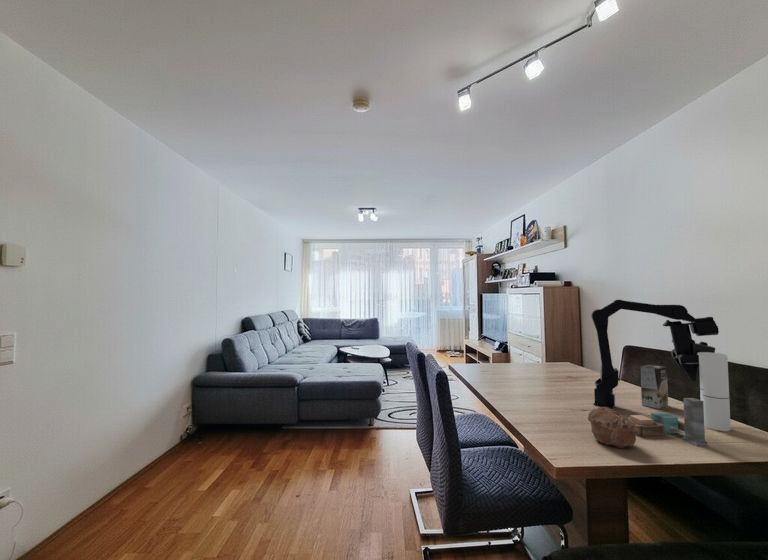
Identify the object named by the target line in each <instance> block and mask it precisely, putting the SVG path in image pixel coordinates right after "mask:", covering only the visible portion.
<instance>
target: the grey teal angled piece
mask: <svg viewBox="0 0 768 560" xmlns="http://www.w3.org/2000/svg"><path fill="white" fill-rule="evenodd" d="M683 416H684V417H683V419H684V420H683V423H684V424H685V431H682V430H680V429H678V421H679V416H678V417H677V416H675V415H673V414H670V413H667V412H664V411H663V412H660V411H659V412H658V411H657V412H650V419H653V421H655V422H658V423H660V424H663V425H665V434H680V435H682V441H684V442H686V443H688V442H689V443H688V444H691V445H693V444H694V445H693V446H695V445H701V446H708V445H709V442H708V441H706V433H705V432H706V431H705V427H704V407H703V401H701V399H698V398H694V397H683Z"/></svg>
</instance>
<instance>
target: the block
mask: <svg viewBox="0 0 768 560" xmlns="http://www.w3.org/2000/svg"><path fill="white" fill-rule="evenodd" d="M629 419H630V420H631V421H632V422H633V423H635V424H637V425H654V422H653V419H651V417H648V416H645V415H642V414H632V415H629Z"/></svg>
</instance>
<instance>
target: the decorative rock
mask: <svg viewBox="0 0 768 560" xmlns="http://www.w3.org/2000/svg"><path fill="white" fill-rule="evenodd" d="M587 416H588V417H587V420H588V421H589V423H590V425H591V429H590V430H591V433H592V434H593V437H594V439H595V440H597V441H599V442H600V444H605V445H609V446H613V447H615V448H618V449H623V448H629V447H633V446H634V445H635V443H636V441H637V436H636V435H637V433H638V432H639V430H638V428H637V427H636V425H635V423H633V422H632V421H631V420H630V418H628V417H627V416H625V414H623V413H621V412H619V411H616V410H615V409H613V408H609V407H603V406H598V407H597V408H594V409H592V410H591V411H589V413H588V415H587Z"/></svg>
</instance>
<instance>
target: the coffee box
mask: <svg viewBox="0 0 768 560" xmlns="http://www.w3.org/2000/svg"><path fill="white" fill-rule="evenodd" d="M668 389H669V385H668V366H663V365H658V364H656V365H655V364H645V365H640V393H641V399H640V400H641V405H642V406H645V407H647V408H648V407H649V408H654V409H657V410H659V409H660V410H661V409H663V408H665V407H668V406H669V391H668Z"/></svg>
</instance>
